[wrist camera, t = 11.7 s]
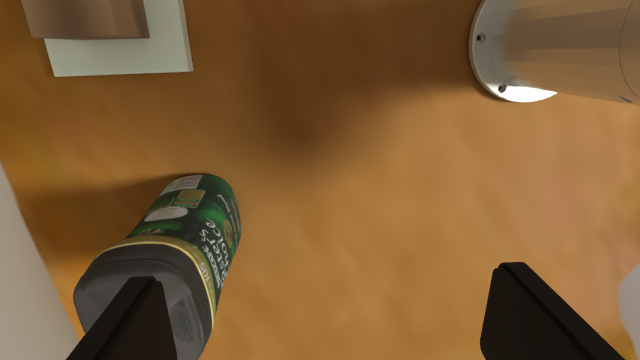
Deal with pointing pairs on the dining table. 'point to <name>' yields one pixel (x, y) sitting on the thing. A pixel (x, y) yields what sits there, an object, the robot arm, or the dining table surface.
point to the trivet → (129, 47)
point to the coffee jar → (172, 259)
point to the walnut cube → (86, 19)
